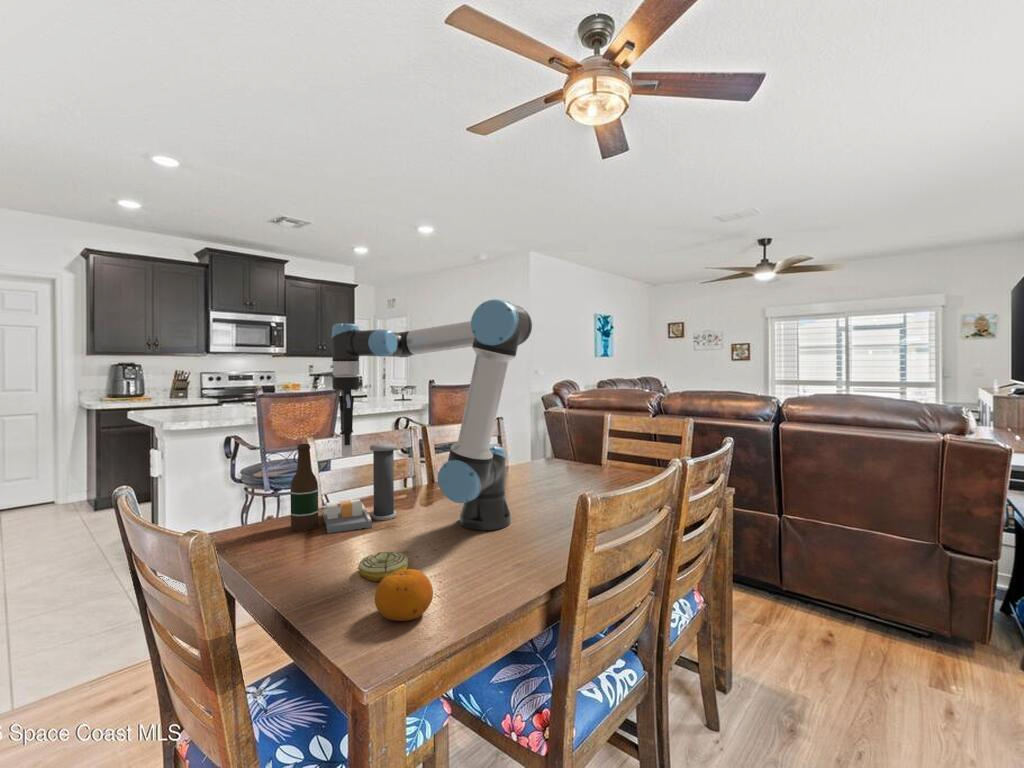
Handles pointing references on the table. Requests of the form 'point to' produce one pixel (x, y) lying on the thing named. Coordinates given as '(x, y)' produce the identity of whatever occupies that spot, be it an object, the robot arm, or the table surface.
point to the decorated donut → (382, 565)
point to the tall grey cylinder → (383, 481)
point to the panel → (347, 521)
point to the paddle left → (332, 510)
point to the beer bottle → (304, 493)
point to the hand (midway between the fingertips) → (346, 455)
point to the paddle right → (356, 507)
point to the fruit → (403, 595)
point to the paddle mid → (346, 508)
